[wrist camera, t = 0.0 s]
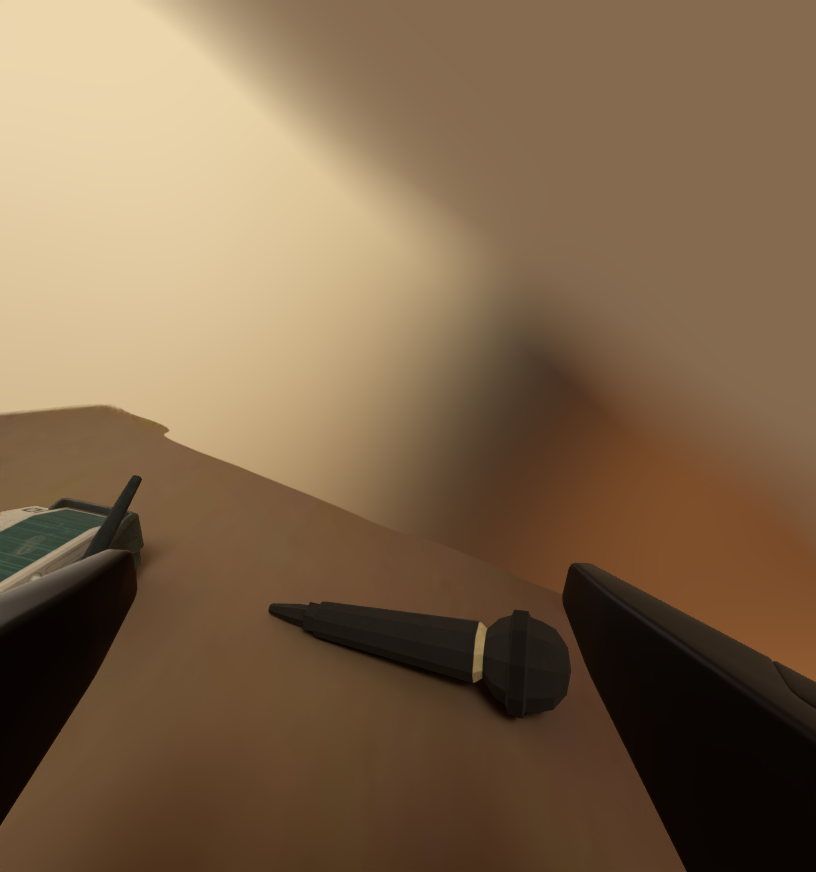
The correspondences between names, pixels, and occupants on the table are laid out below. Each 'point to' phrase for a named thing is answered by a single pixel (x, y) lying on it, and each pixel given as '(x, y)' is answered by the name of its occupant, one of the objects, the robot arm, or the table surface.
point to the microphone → (453, 648)
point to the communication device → (65, 536)
